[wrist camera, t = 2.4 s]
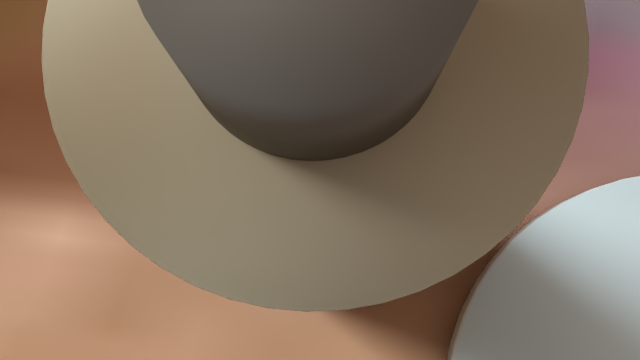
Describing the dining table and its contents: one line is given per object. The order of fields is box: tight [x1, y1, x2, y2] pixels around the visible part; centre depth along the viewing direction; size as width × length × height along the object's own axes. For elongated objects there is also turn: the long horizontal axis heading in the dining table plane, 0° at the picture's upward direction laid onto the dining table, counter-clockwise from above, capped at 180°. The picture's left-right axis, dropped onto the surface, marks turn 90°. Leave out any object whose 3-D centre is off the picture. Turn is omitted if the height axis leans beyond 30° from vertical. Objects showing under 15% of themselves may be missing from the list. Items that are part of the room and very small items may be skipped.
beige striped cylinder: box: [42, 0, 589, 312], centre depth 12 cm, size 5×5×16 cm
